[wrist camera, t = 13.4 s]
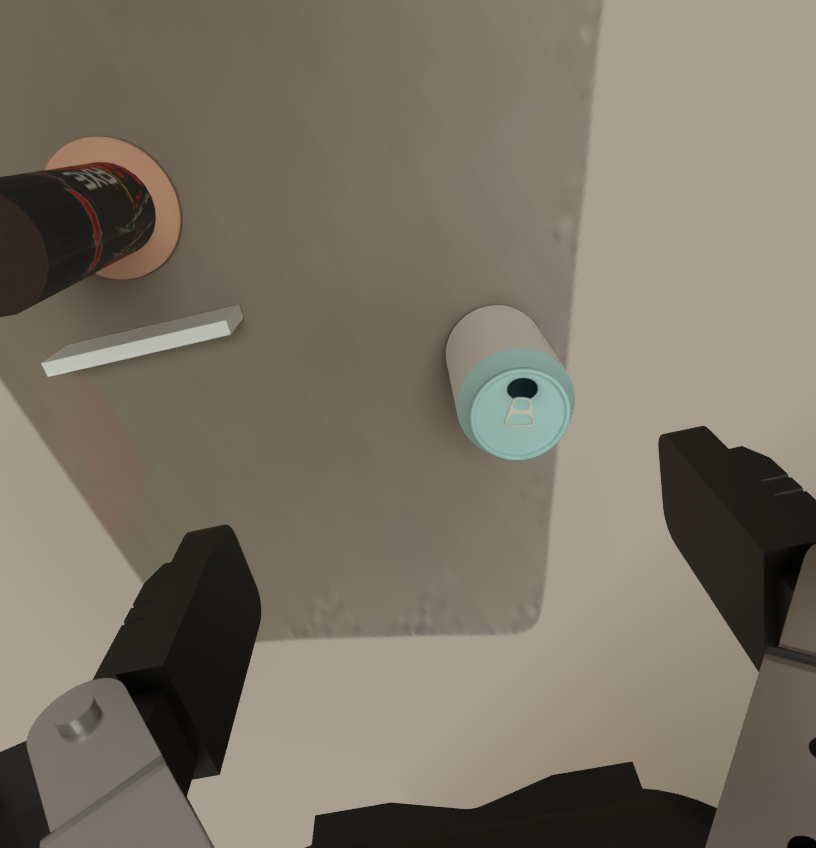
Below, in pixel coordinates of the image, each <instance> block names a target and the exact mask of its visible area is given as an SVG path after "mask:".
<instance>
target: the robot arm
mask: <svg viewBox="0 0 816 848" xmlns="http://www.w3.org/2000/svg"><path fill="white" fill-rule="evenodd" d="M659 460H660V472H661V485H662V498H663V509H664V515H665V520H666V524H667V526H668V530H669V532H670V535H671V537H672V539H673V541H674V543H675V544H676V546H677V548H678V549H679V551H680V552H681V554H682V555H683V557H684V558H685V560H686V561H687V562H688V564H689V566H690V567H691V569H692V570H693V572H694V574H695V575H696V576H697V578H698V580H699V581H700V583H701V584H702V586H703V587H704V589H705V590H706V592H707V593H708V595H709V597H710V598H711V600H712V601H713V603H714V604H715V606H716V607H717V609H718V610H719V612H720V613H721V615H722V616H723V618H724V620H725V621H726V623H727V624H728V626H729V627H730V629H731V630H732V632H733V633H734V635H735V636H736V638H737V640H738V641H739V643H740V644H741V646H742V647H743V649H744V650H745V652H746V653H747V655H748V656H749V658H750V659H751V661H752V662H753V664H754V666H755V667H756V669H757V670H758V672H759V674H758V678H757V681H756V684H755V687H754V690H753V694H752V697H751V700H750V704H749V707H748V710H747V714H746V717H745V720H744V723H743V727H742V730H741V733H740V736H739V739H738V743H737V746H736V749H735V753H734V756H733V759H732V762H731V766H730V769H729V772H728V775H727V778H726V782H725V785H724V788H723V791H722V795H721V798H720V801H719V804H718V808H715V807H713V806H710V805H708V804H706V803H703V802H701V801H699V800H695V799H692V798H689V797H686V796H683V795H679V794H675V793H670V792H665V791H660V790H652V789H642V787H641V784H640V781H639V778H638V775H637V773H636V770H635V767H634V765H633V762H627V763H621V764H615V765H609V766H603V767H598V768H592V769H586V770H580V771H574V772H568V773H562V774H556V775H552V776H549V777H547V778H545V779H542V780H540V781H538V782H536V783H533V784H531V785H529V786H527V787H524V788H522V789H520V790H518V791H515V792H513V793H511V794H509V795H506V796H504V797H501V798H499V799H497V800H495V801H492V802H490V803H488V804H486V805H483V806H481V807H478V808H474V809H457V808H445V807H434V806H423V805H412V804H400V803H387V804H380V805H374V806H368V807H363V808H357V809H351V810H345V811H339V812H333V813H328V814H321V815H316V816H315V822H314V831H313V840H312V845H310V846H308V847H306V848H816V500H815V499H814V498H813V497H812V496H811V495H810V494H809V493H808V492H806V491H805V492H804V491H803V488H802V487H801V486H800V485H799V484H798V483H797V482H796V481H795V480H794V479H792V478H789V477H788V474H787V473H786V472H785V471H784V470H783V469H781V467H779V466H778V465H777V464H776V463H775V462H774V461H773V460H772V459H771V458H769V457H767V456H764V455H762V454H760V453H757V452H754V451H753V450H750V449H747V448H745V447H743V446H741V447H736V448H731V449H728V448H727V447H726V446H725V445H724V444H723V443H722V442H721V441H720V440H719V439H718V438H717V437H716V436H715V435H714V434H713V433H712V432H711V431H710V430H709V429H708V428H707V427H705V426H700V427H695V428H690V429H686V430H681V431H676V432H671V433H667V434H662V435H661V436H660V438H659ZM133 606H134V608H131V609H130V611H129V613H128V615H127V617H126V618H125V621H124V623H125V624H124V625H122V626H121V628H120V630H119V631H118V633H117V635H116V637H115V639H114V641H113V643H112V645H111V647H110V649H109V650H108V652H107V654H106V656H105V658H104V660H103V661H102V663H101V665H100V667H99V669H98V671H97V673H96V674H95V676H94V678H93V680H91V681H88V682H86V683H83V684H81V685H78V686H76V687H74V688H73V689H71V690H69V691H67V692H66V693H64V694H63V695H61V696H60V697H58V698H57V699H56V700H55V701H53V702H52V703H51V704H50V705H49V706H48V707H47V708H46V709H45V710H44V711H43V712H42V713H41V714H40V715H39V717H38V718H37V719H36V721H35V722H34V724H33V725H32V727H31V729H30V731H29V734H28V737H27V741H25V742H22V743H20V744H18V745H16V746H13V747H11V748H9V749H6V750H4V751H2V752H0V848H214V846H213V844H212V842H211V840H210V839H209V837H208V835H207V833H206V831H205V830H204V828H203V826H202V824H201V822H200V820H199V818H198V816H197V815H196V813H195V811H194V809H193V807H192V805H191V804H190V802H189V800H188V798H187V794H188V791H189V787H190V784H191V781H192V779H199V778H204V777H210V776H215V775H220V771H221V768H222V763H223V760H224V757H225V753H226V749H227V745H228V741H229V738H230V734H231V730H232V726H233V722H234V719H235V715H236V711H237V707H238V703H239V700H240V696H241V693H242V689H243V685H244V681H245V678H246V674H247V670H248V666H249V663H250V659H251V655H252V651H253V648H254V644H255V640H256V636H257V633H258V629H259V625H260V621H261V602H260V596H259V592H258V589H257V586H256V584H255V581H254V579H253V576H252V574H251V571H250V569H249V567H248V564H247V562H246V559H245V557H244V554H243V552H242V549H241V547H240V545H239V542H238V540H237V537H236V535H235V533H234V531H233V529H232V528H231V527H230V526H229V525H220V526H216V527H211V528H206V529H201V530H197V531H192V532H188V533H187V534H186V535H185V536H184V538H183V540H182V542H181V544H180V546H179V548H178V550H177V552H176V554H175V556H174V558H173V560H172V562H170V563H165V564H163V565H162V566H161V567H160V568H159V569H158V570H157V571H156V572H155V573H154V574H153V575H152V576H151V577H150V578H149V579H148V580H147V581H146V582H145V583H144V585H143V587H142V589H141V590H140V593H139V594H138V596H137V598H136V600H135V602H134V603H133Z"/></svg>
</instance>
